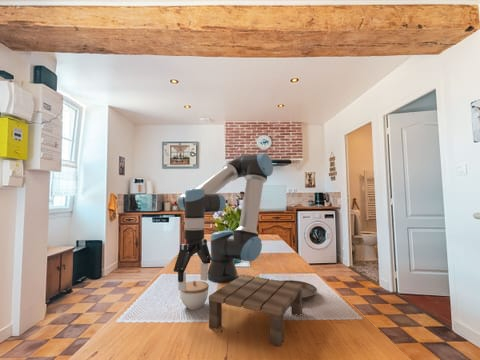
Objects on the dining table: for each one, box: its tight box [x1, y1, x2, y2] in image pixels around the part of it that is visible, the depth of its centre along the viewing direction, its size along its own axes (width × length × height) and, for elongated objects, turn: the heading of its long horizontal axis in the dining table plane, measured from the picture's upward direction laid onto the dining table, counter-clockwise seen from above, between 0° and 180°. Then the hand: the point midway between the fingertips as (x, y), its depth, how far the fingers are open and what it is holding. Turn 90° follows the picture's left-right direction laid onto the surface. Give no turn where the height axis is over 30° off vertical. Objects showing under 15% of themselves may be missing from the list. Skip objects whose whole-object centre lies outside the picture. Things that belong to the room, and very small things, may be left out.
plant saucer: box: [283, 279, 318, 303], centre depth 113 cm, size 21×21×3 cm
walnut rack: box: [208, 274, 303, 347], centre depth 92 cm, size 24×24×10 cm
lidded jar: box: [179, 280, 209, 310], centre depth 103 cm, size 11×11×9 cm
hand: (193, 285), depth 103 cm, fingers open, 13 cm apart
